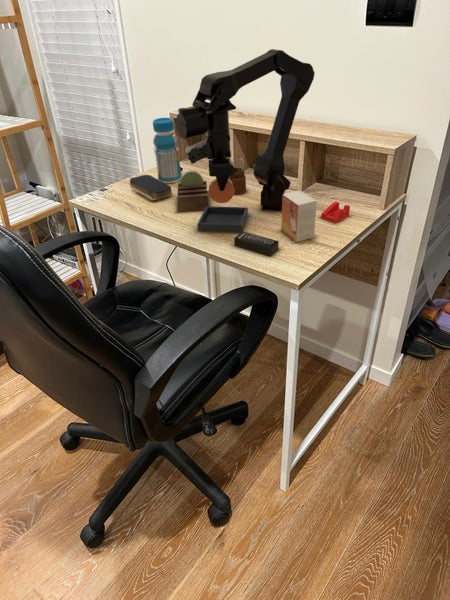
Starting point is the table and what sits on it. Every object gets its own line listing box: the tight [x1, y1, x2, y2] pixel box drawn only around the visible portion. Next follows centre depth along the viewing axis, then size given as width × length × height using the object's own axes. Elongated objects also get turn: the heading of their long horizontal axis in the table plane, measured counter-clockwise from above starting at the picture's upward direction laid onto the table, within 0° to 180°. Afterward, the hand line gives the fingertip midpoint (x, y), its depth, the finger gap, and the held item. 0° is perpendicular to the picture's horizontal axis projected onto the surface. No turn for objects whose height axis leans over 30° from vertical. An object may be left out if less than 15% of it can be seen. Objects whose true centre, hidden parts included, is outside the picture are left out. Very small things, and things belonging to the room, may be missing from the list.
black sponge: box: [129, 174, 173, 201], centre depth 148 cm, size 16×8×4 cm, turn 37°
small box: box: [280, 190, 318, 243], centre depth 118 cm, size 8×6×10 cm
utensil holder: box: [226, 157, 247, 195], centre depth 143 cm, size 6×6×12 cm
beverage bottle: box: [152, 117, 183, 184], centre depth 153 cm, size 8×8×20 cm
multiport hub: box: [233, 231, 280, 257], centre depth 116 cm, size 4×11×2 cm, turn 54°
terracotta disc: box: [208, 178, 235, 204], centre depth 123 cm, size 7×1×7 cm, turn 93°
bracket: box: [320, 201, 351, 224], centre depth 127 cm, size 6×5×3 cm
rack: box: [176, 180, 211, 214], centre depth 140 cm, size 10×12×5 cm
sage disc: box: [180, 170, 204, 186], centre depth 141 cm, size 7×1×7 cm, turn 94°
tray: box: [197, 205, 249, 234], centre depth 128 cm, size 12×11×2 cm
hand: (221, 189), depth 123 cm, fingers closed on terracotta disc, 1 cm apart
